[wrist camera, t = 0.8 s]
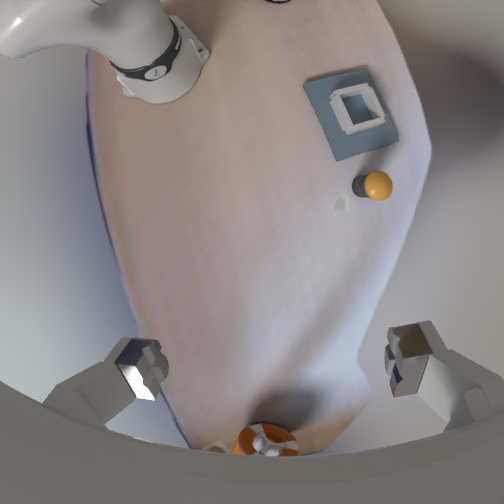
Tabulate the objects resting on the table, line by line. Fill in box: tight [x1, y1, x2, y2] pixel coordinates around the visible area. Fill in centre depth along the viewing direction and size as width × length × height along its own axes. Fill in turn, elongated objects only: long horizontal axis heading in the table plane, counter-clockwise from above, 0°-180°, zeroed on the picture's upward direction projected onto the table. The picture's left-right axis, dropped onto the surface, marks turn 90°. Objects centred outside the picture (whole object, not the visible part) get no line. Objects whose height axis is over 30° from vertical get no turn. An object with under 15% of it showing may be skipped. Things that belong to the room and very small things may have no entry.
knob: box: [352, 171, 392, 200], centre depth 45 cm, size 5×5×8 cm
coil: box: [233, 423, 299, 456], centre depth 54 cm, size 7×15×15 cm, turn 76°
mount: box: [303, 69, 399, 161], centre depth 44 cm, size 16×14×5 cm
